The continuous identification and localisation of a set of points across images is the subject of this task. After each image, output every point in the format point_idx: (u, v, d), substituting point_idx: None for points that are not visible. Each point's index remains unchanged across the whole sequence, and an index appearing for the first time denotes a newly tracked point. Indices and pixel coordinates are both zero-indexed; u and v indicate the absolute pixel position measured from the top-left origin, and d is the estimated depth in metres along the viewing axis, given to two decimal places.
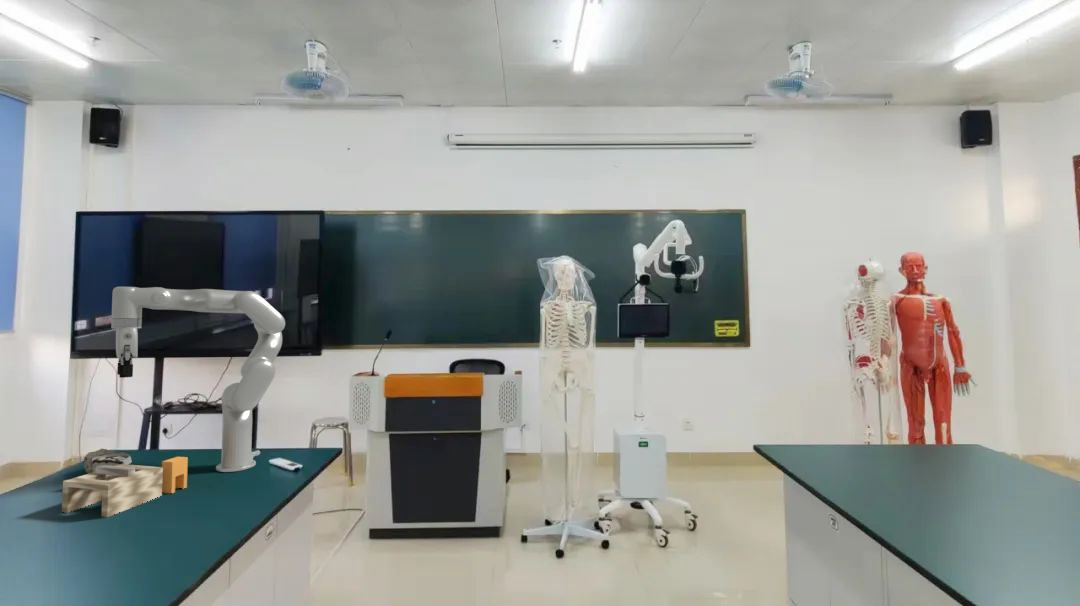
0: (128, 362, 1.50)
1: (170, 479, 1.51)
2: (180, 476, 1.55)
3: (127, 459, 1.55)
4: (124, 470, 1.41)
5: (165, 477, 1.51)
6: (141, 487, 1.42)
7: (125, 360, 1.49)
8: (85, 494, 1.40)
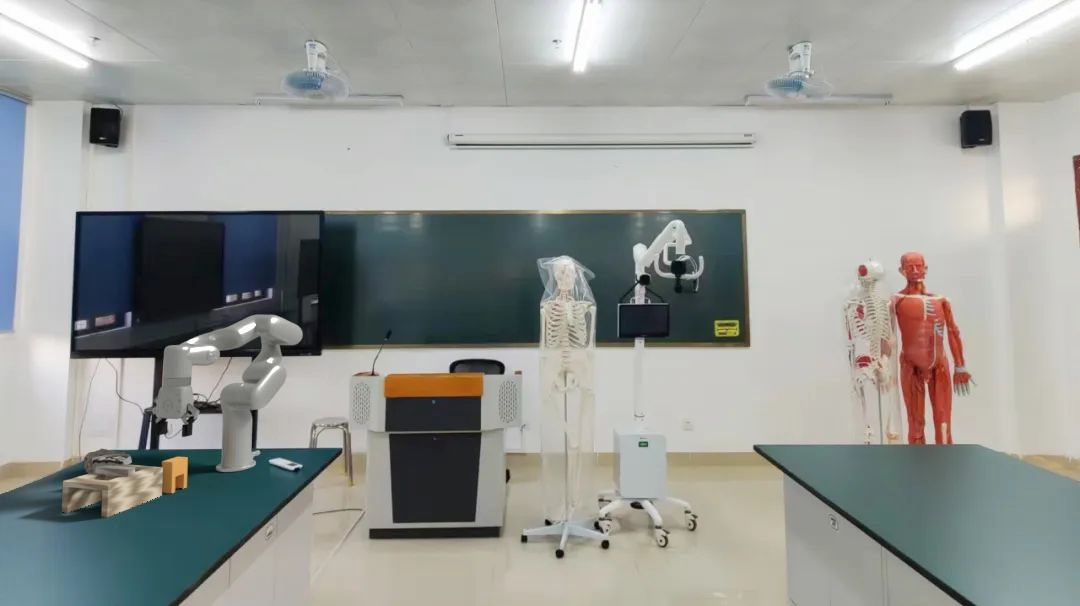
0: None
1: (170, 479, 1.51)
2: (180, 476, 1.55)
3: (127, 459, 1.55)
4: (124, 470, 1.41)
5: (165, 477, 1.51)
6: (141, 487, 1.42)
7: None
8: (85, 494, 1.40)
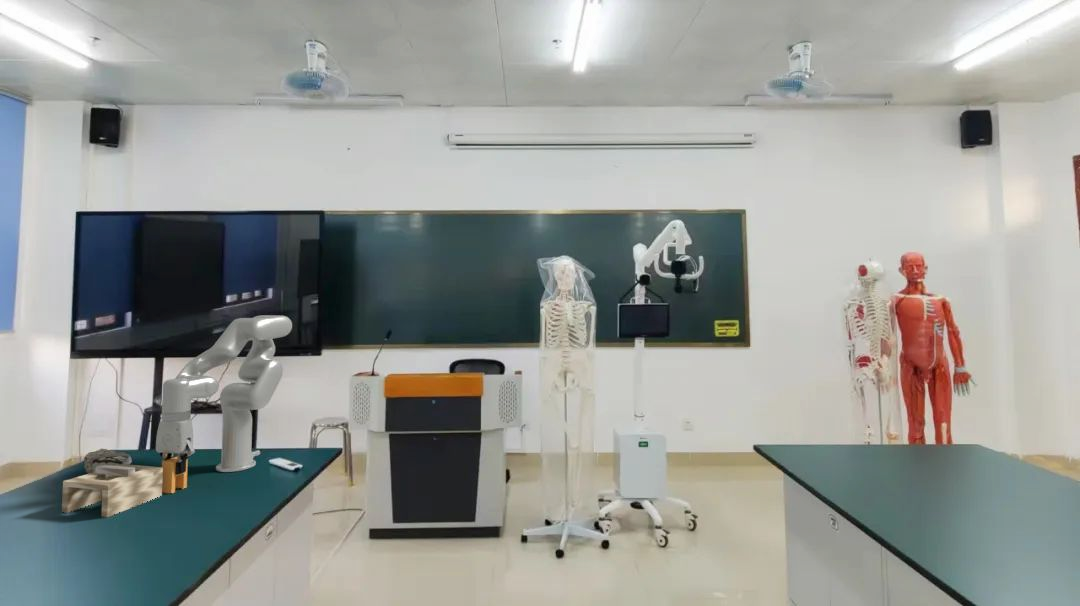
0: None
1: (169, 479, 1.51)
2: (180, 476, 1.55)
3: (127, 459, 1.55)
4: (124, 470, 1.41)
5: (165, 477, 1.51)
6: (141, 487, 1.42)
7: None
8: (85, 494, 1.40)
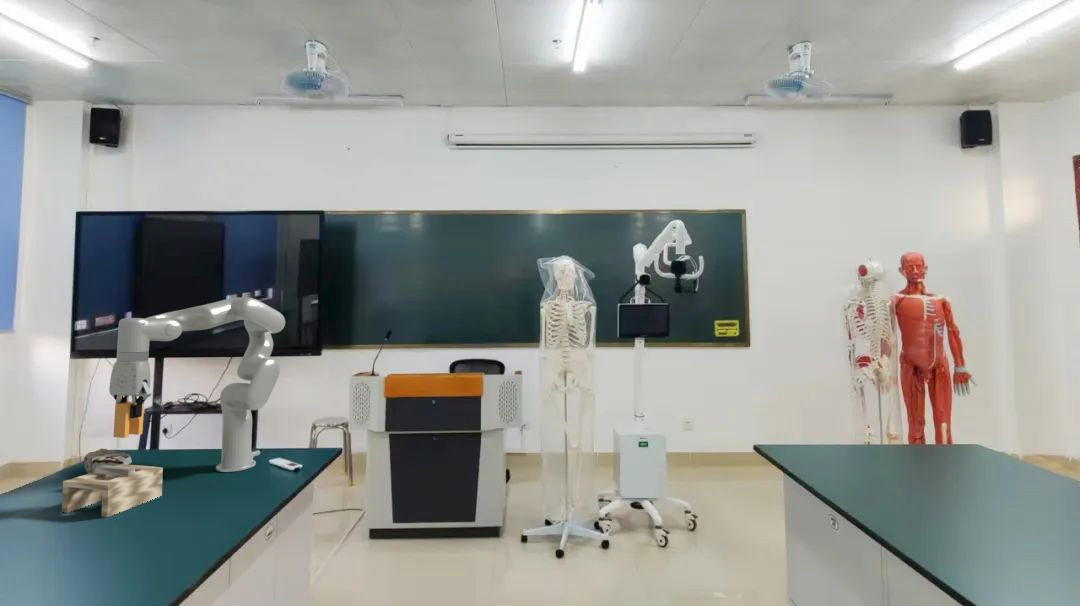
0: None
1: (123, 423, 1.42)
2: (135, 421, 1.46)
3: (127, 459, 1.55)
4: (124, 470, 1.41)
5: (118, 420, 1.42)
6: (141, 487, 1.42)
7: None
8: (85, 494, 1.40)
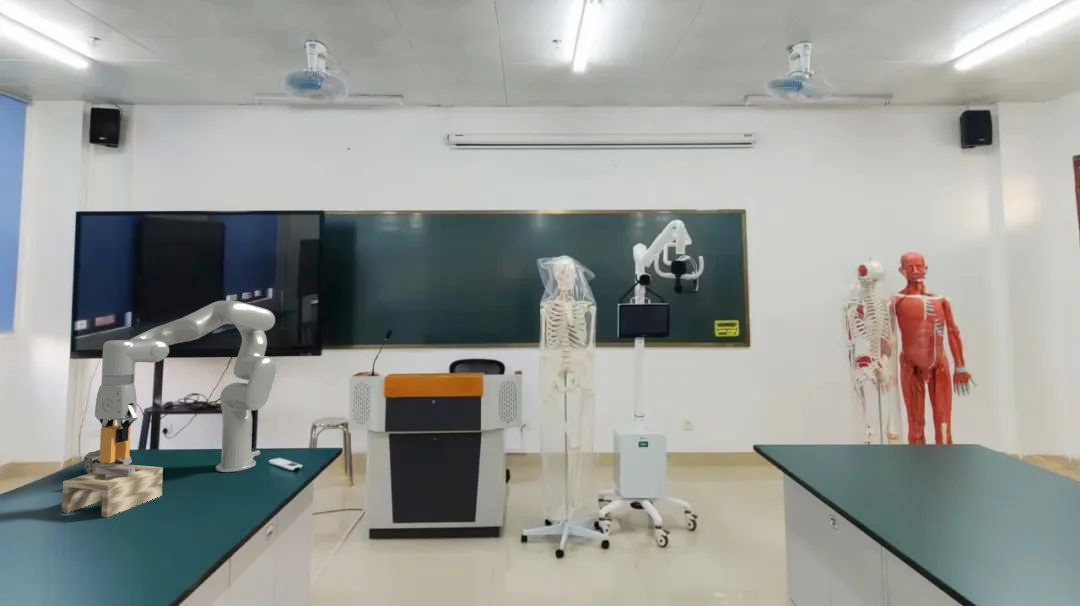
0: None
1: (109, 447, 1.39)
2: (122, 445, 1.44)
3: (127, 459, 1.55)
4: (124, 470, 1.41)
5: (104, 445, 1.40)
6: (141, 487, 1.42)
7: None
8: (85, 494, 1.40)
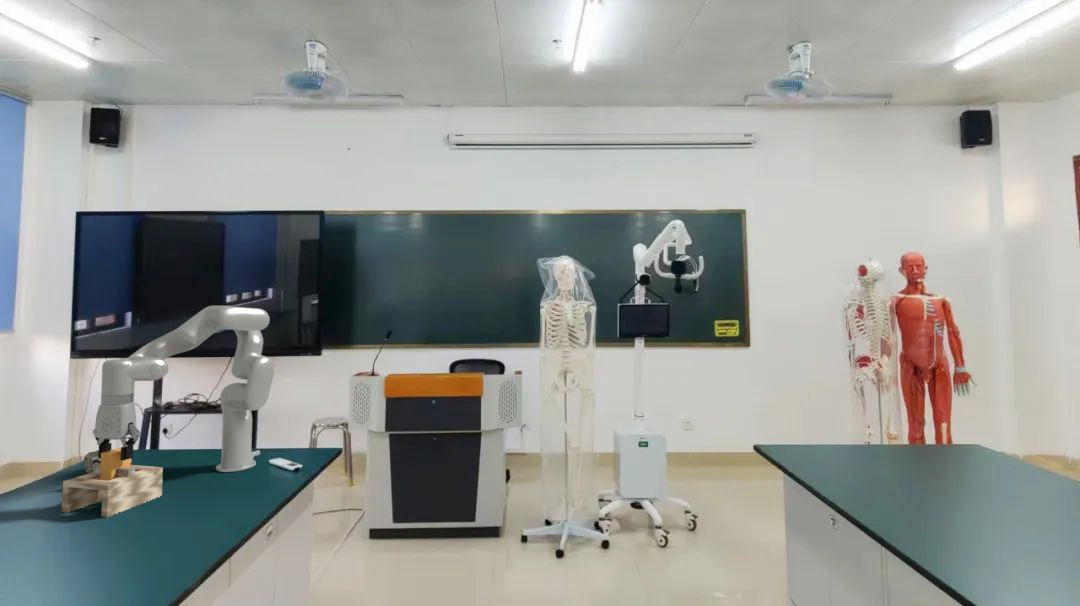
0: None
1: (109, 472, 1.40)
2: None
3: None
4: (124, 470, 1.41)
5: (104, 470, 1.40)
6: (141, 487, 1.42)
7: None
8: (85, 494, 1.40)
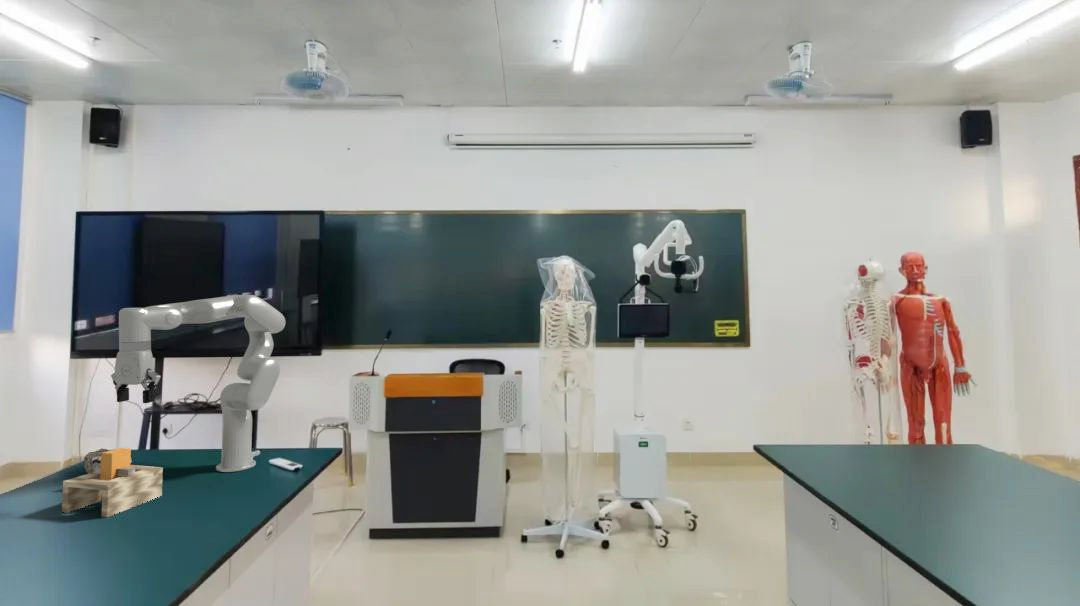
0: None
1: (109, 472, 1.40)
2: None
3: None
4: (124, 470, 1.41)
5: (104, 470, 1.40)
6: (141, 487, 1.42)
7: None
8: (85, 494, 1.40)
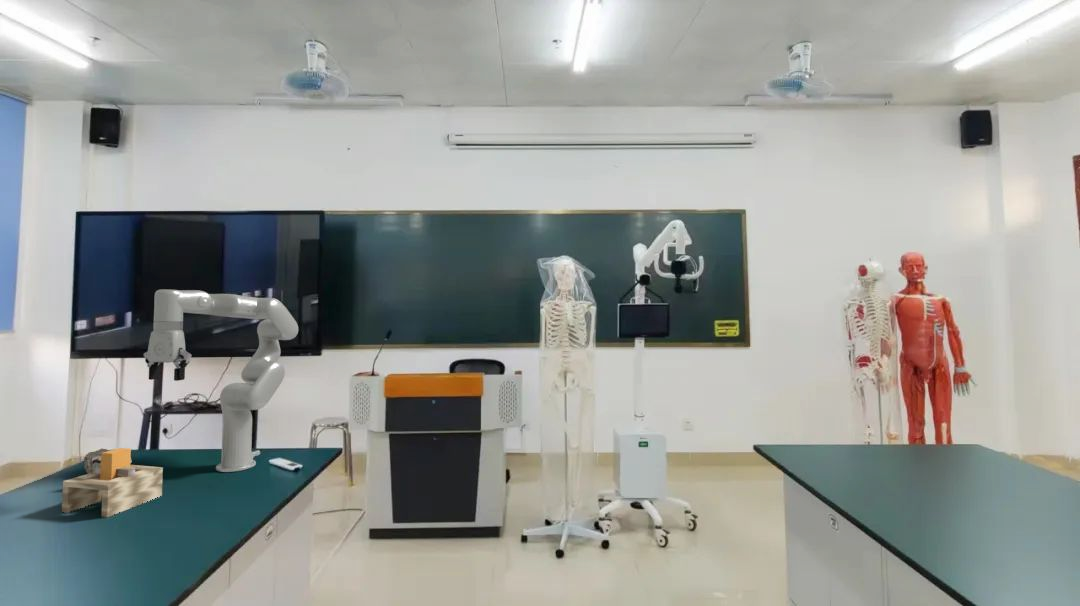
0: None
1: (109, 472, 1.40)
2: None
3: None
4: (124, 470, 1.41)
5: (104, 470, 1.40)
6: (141, 487, 1.42)
7: None
8: (85, 494, 1.40)
